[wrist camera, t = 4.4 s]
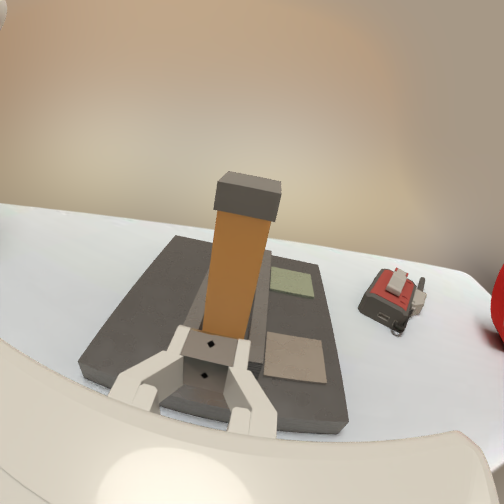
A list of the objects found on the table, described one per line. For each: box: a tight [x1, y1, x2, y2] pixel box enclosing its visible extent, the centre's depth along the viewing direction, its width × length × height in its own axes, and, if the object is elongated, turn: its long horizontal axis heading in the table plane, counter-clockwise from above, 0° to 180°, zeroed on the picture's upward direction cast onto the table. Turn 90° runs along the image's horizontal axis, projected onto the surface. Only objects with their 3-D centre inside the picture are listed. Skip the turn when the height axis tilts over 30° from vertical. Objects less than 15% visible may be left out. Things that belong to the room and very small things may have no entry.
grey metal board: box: [78, 235, 349, 434], centre depth 27 cm, size 20×24×4 cm
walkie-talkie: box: [358, 268, 427, 333], centre depth 37 cm, size 9×4×20 cm
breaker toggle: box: [202, 171, 281, 339], centre depth 19 cm, size 3×3×13 cm
